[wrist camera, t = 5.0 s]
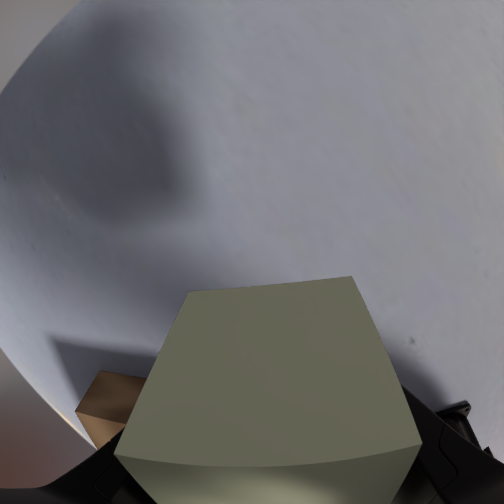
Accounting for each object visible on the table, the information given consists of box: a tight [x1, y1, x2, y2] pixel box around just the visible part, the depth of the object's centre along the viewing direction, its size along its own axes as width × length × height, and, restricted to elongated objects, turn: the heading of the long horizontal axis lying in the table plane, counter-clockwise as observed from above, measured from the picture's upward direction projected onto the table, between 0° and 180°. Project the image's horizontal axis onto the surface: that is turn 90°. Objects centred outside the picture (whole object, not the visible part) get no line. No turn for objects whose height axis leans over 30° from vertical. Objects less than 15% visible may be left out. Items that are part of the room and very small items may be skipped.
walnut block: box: [75, 371, 147, 450], centre depth 22 cm, size 10×10×5 cm
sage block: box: [114, 276, 422, 504], centre depth 8 cm, size 5×5×6 cm
